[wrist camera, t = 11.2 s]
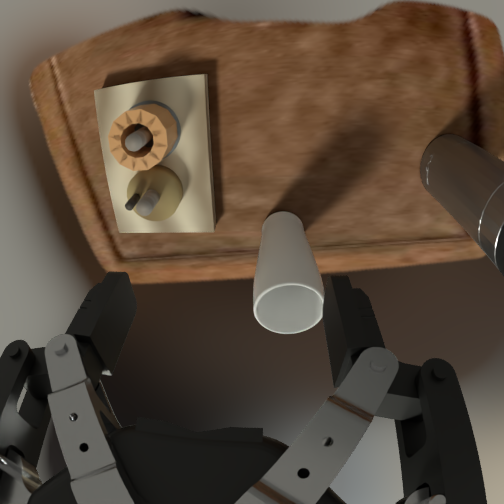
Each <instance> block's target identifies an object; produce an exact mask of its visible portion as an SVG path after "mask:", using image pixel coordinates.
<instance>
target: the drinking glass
mask: <svg viewBox="0 0 504 504" xmlns="http://www.w3.org/2000/svg"><path fill="white" fill-rule="evenodd" d="M324 296H325V295H324V289H323V284H322V279H321V275H320V272H319V269H318V266H317V263H316V261H315V258H314V255H313V253H312V250H311V248H310V245H309V242H308V240H307V237H306V234H305V232H304V227H303V224H302V222H301V220H300V219H299V218H298V217H297V216H296V215H295V214H293V213H290V212H285V211H281V212H276V213H273V214H271V215H270V216H269V217H268V218H267V219H266V220H265V221H264V223H263V226H262V236H261V243H260V248H259V254H258V260H257V265H256V271H255V277H254V288H253V303H254V315H255V317H256V319H257V321H258V322H259V323H260V324H261V325H262V326H263V327H265V328H266V329H268V330H270V331H273V332H277V333H282V334H293V333H298V332H302V331H305V330H307V329H309V328H311V327H313V326H314V325H316V324H317V323H318V322H319V321H320V320H321V318H322V317H323V316H322V309H323V301H324Z"/></svg>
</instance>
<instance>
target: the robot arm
mask: <svg viewBox="0 0 504 504" xmlns="http://www.w3.org/2000/svg"><path fill="white" fill-rule="evenodd" d="M420 174H421V179H422V183H423V185H424V187H425V188H426V190H427V191H428V192H429V193H430V194H431V195H432V196H433V197H434V198H435V199H436V200H437V201H438V202H439V203H440V204H441V205H442V206H443V207H444V208H445V209H446V210H447V211H448V212H449V213H450V214H451V215H452V216H453V218H454V219H455V220H456V221H457V222H458V223H459V224H460V225H461V226H462V227H463V228H464V229H465V230H466V232H467V233H468V234H469V235H470V236H471V237H472V238H473V239H474V241H475V242H476V243H477V244H478V245H479V246H480V248H481V249H482V250H483V251H484V252H485V253H486V254H487V256H488V257H489V258H490V259H491V260H492V262H493V263H494V264H495V265H496V267H497V268H498V269H499V271H500V272H501V273H502V275H503V276H504V161H502V160H501V159H499V158H497V157H496V156H494V155H492V154H491V153H489V152H487V151H486V150H484V149H482V148H480V147H479V146H477V145H475V144H473V143H472V142H470V141H468V140H466V139H464V138H462V137H460V136H458V135H454V134H446V135H442V136H440V137H438V138H436V139H435V140H434V141H433V142H431V143H430V145H429V146H428V147H427V149H426V150H425V152H424V154H423V157H422V161H421V167H420ZM136 309H137V304H136V298H135V295H134V292H133V289H132V286H131V282H130V279H129V276H128V274H127V273H126V272H108V273H107V275H106V276H105V278H104V280H103V281H102V283H98V284H97V285H95V286H94V287H93V288H92V289H91V290H90V291H89V292H88V294H87V296H86V298H85V299H84V301H83V303H82V304H81V306H80V309H79V310H78V311H77V313H76V315H75V317H74V319H73V320H72V322H71V324H70V326H69V328H68V329H67V331H66V333H65V334H61V335H58V336H56V337H54V338H52V339H51V340H50V341H49V342H48V344H47V346H46V347H42V348H35V349H31V348H30V347H29V345H28V344H27V343H26V342H25V341H24V340H16V341H14V342H12V343H10V344H9V345H8V346H7V347H6V348H5V350H4V352H3V354H2V356H1V357H0V504H346V503H345V502H344V501H343V500H342V499H341V498H340V497H339V496H338V495H337V494H336V493H335V492H334V491H333V490H331V488H330V487H329V485H330V484H331V483H332V481H333V480H334V478H335V477H336V476H337V474H338V473H339V472H340V470H341V469H342V467H343V466H344V464H345V463H346V461H347V460H348V458H349V457H350V455H351V454H352V452H353V451H354V449H355V448H356V446H357V445H358V443H359V441H360V440H361V438H362V437H363V435H364V433H365V432H366V430H367V428H368V427H369V425H370V423H371V422H372V420H373V417H374V416H379V417H385V418H390V419H394V420H395V426H396V433H397V439H398V447H399V454H400V462H401V471H402V480H403V492H404V498H402V499H401V500H399V501H398V502H396V504H487V500H486V493H485V487H484V481H483V475H482V470H481V465H480V460H479V455H478V451H477V446H476V442H475V438H474V434H473V430H472V426H471V422H470V418H469V415H468V411H467V408H466V405H465V401H464V398H463V394H462V391H461V388H460V385H459V382H458V379H457V376H456V373H455V370H454V369H453V367H452V366H451V365H450V364H449V363H448V362H446V361H445V360H442V359H439V358H432V359H429V360H427V361H426V362H425V363H424V364H423V365H422V367H421V366H415V365H410V364H405V363H402V362H399V361H398V360H397V358H396V357H395V355H394V354H392V352H390V351H389V350H387V349H386V348H385V345H384V342H383V339H382V335H381V333H380V330H379V326H378V323H377V320H376V318H375V314H374V311H373V310H372V306H371V303H370V300H369V297H368V296H367V295H366V294H365V293H364V292H363V291H362V290H361V289H360V288H359V289H358V288H356V289H352V286H351V283H350V280H349V277H348V276H347V275H346V276H328V279H327V285H326V290H325V296H324V301H323V309H322V316H323V323H324V329H325V335H326V341H327V347H328V353H329V359H330V365H331V371H332V378H333V385H334V388H336V387H339V388H338V389H337V390H336V392H335V393H334V395H333V396H332V397H331V396H330V397H329V398H328V399H327V400H326V401H325V403H324V404H323V405H322V406H321V408H320V409H319V410H318V412H317V413H316V415H315V416H314V417H313V418H312V420H311V421H310V422H309V423H308V425H307V426H306V427H305V429H304V430H303V431H302V433H301V434H300V435H299V436H298V437H297V439H296V440H295V441H294V442H293V443H292V444H291V446H290V447H289V446H287V445H286V444H284V443H282V442H280V441H278V440H276V439H273V438H270V437H267V436H263V428H238V427H229V428H223V429H217V430H210V431H203V432H195V431H191V430H189V429H186V428H183V427H180V426H178V425H175V424H172V423H169V422H167V421H160V420H153V419H147V418H140V417H138V419H137V423H136V425H131V426H127V427H123V428H122V427H121V426H120V424H119V422H118V421H117V419H116V417H115V415H114V413H113V410H112V408H111V405H110V403H109V401H108V398H107V396H106V393H105V391H104V388H103V386H102V383H101V381H100V377H101V375H102V374H107V375H112V374H113V371H114V368H115V366H116V363H117V360H118V357H119V355H120V352H121V350H122V347H123V344H124V342H125V339H126V337H127V334H128V331H129V328H130V327H131V324H132V322H133V319H134V317H135V314H136ZM23 387H24V388H25V389H26V390H27V392H26V394H25V397H24V399H23V402H22V405H21V407H20V410H19V413H18V412H17V408H16V407H17V402H18V399H19V397H20V394H21V391H22V389H23ZM51 415H52V418H53V422H54V425H55V429H56V433H57V436H58V440H59V443H60V446H61V449H62V452H63V455H64V458H65V461H66V464H67V467H66V468H64V469H63V470H61V471H60V472H59V473H57V474H56V475H55V476H53V477H52V478H51V479H49V480H48V481H46V482H45V483H44V484H42V481H41V480H40V479H39V474H38V471H37V469H36V467H37V463H38V459H39V456H40V452H41V448H42V445H43V441H44V438H45V435H46V431H47V428H48V425H49V422H50V418H51Z"/></svg>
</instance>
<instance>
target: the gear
mask: <svg viewBox="0 0 504 504" xmlns="http://www.w3.org/2000/svg"><path fill="white" fill-rule="evenodd" d="M137 123H140V124H142V125H144V126H146V127H148V128H149V130H150V131H151V133H152V134H153V141H154V145H153V147H146V146H143V147H141V148H140V149H139V150H138V151H134V152H133V151H130V150H128V149H127V147H126V145H125V140H126V138H127V136H129V135H130V134H132V133H133V132H135V127H136V125H137ZM177 137H178V134H177V122H176V121H175V119H174V118H173V116H172V115H171V113H170V112H169V110H168V109H165V108H163V107H161V106H159V105H157V104H146V105H139V106H137V107H135V108H132V109H130V110H127V111H125V112H124V113H123V114H122V115H120V116H119V117H118V118H117V119H116V120H114V121H113V124H112V126H111V129H110V132H109V135H108V140H109V147H110V152H111V153H112V155H113V156H114V158H115V159H116V160H117V162H118V163H119V164H120V165H122V166H124V167H126V168H128V169H130V170H132V171H139V170H149V169H150V168H152V167H153V166H155V165H156V164H157V163H159V162H160V161H161V160H162V159H163V158H164V157H165V156H166V155H167V154H168V153H169V152H170V151H171V150H172V148H173V146H174V144H175V142H176V140H177Z"/></svg>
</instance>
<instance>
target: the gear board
mask: <svg viewBox="0 0 504 504" xmlns="http://www.w3.org/2000/svg"><path fill="white" fill-rule="evenodd" d="M94 95H95V104H96V112H97V120H98V127H99V134H100V140H101V146H102V152H103V158H104V164H105V169H106V175H107V180H108V185H109V190H110V194H111V199H112V204H113V208H114V212H115V217H116V221H117V225H118V229H119V233H152V232H214V231H215V228H216V213H215V200H214V185H213V171H212V155H211V138H210V119H209V99H208V75H207V74H198V75H187V76H177V77H168V78H160V79H153V80H146V81H140V82H134V83H128V84H122V85H117V86H112V87H107V88H102V89H98V90H94ZM146 104H157V105H159V106H161V107H163V108H165V109H168V110H169V112H170V113H171V115H172V116H173V118H174V119H175V121H176V122H177V134H178V137H177V140H176V142H175V144H174V146H173V148H172V150H171V151H170V152H169V153H168V154H167V155H166V156H165V157H164V158H163V159H162V160H161V161H160V162H159V163H157V164H156V165H155V166H153V167H152V168H150V169H149V170H139V171H132V170H130V169H128V168H126V167H124V166H122V165H120V164H119V163H118V162H117V160H116V159H115V158H114V156H113V155H112V153H111V152H110V147H109V140H108V135H109V132H110V129H111V126H112V124H113V121H114V120H116V119H117V118H118V117H119V116H120V115H122V114H123V113H124V112H125V111H127V110H130V109H132V108H135V107H137V106H139V105H146ZM125 145H126V147H127V149H128V150H130V151H133V152H134V151H138V150H139V149H140V148H141V147H143V146H146V147H153V145H154V141H153V134H152V133H151V131H150V130H149V128H148V127H146V126H144V125H142V124H140V123H137V125H136V127H135V132H133V133H132V134H130V135H129V136H127V138H126V140H125Z"/></svg>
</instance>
